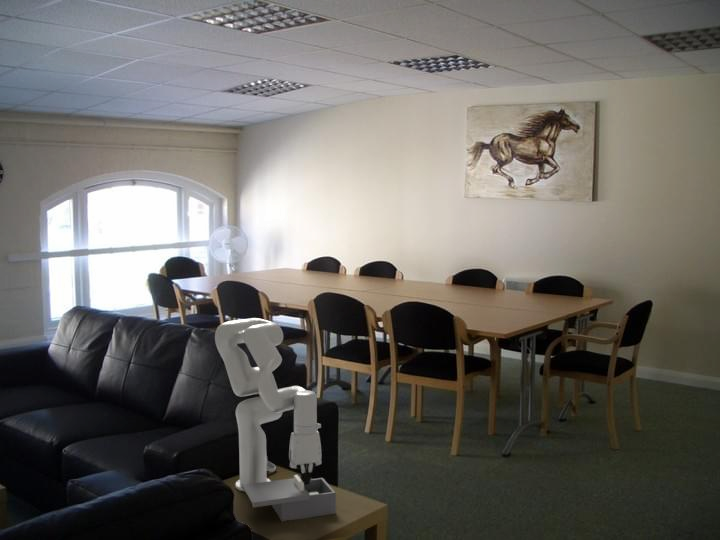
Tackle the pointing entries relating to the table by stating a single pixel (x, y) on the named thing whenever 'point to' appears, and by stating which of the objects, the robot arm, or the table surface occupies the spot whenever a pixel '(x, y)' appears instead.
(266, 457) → the ceramic mug
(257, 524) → the table surface
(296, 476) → the lid
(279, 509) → the base
